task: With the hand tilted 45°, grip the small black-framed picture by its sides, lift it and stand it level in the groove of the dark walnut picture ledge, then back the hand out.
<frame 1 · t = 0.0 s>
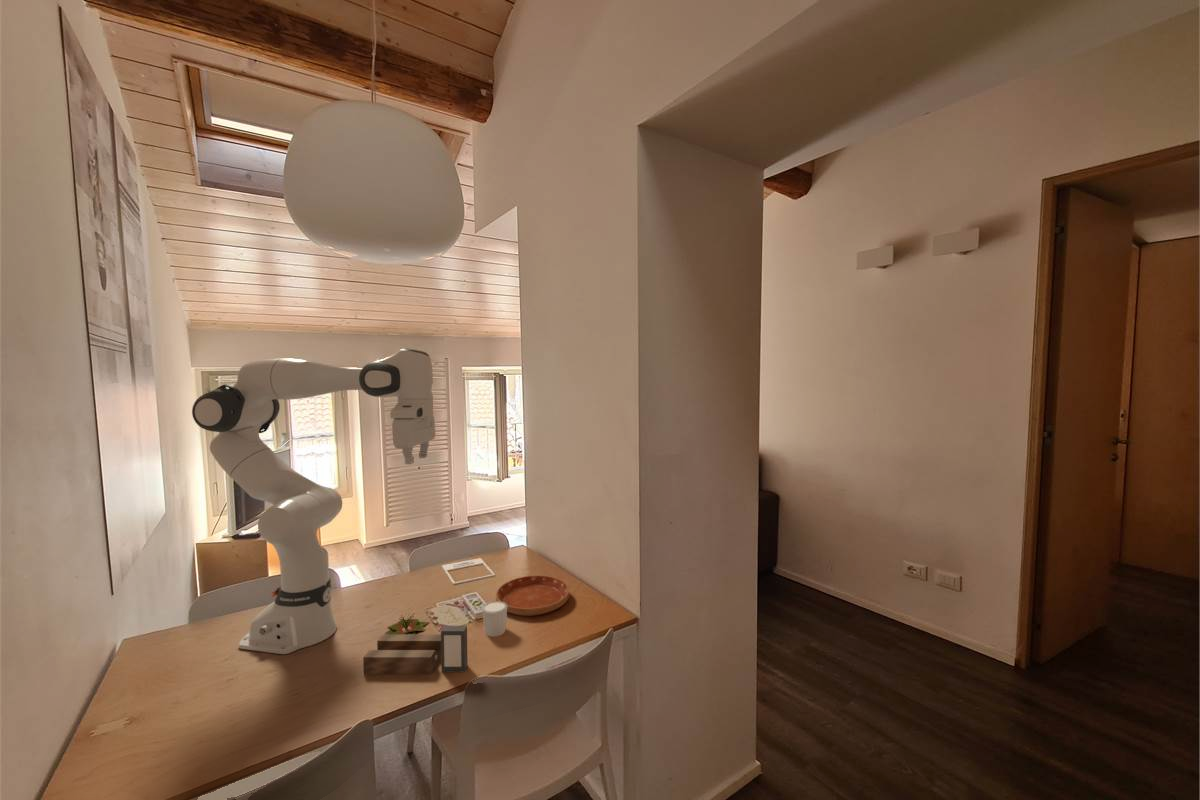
hand: (416, 460, 127), 48 cm above the table, tool pointing down, fingers open, 8 cm apart
small frame: (454, 668, 114), on the table
picture ledge: (405, 661, 117), on the table
photo frame: (467, 572, 172), on the table
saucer: (532, 602, 149), on the table
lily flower: (406, 631, 132), on the table
white cylinder: (495, 631, 131), on the table
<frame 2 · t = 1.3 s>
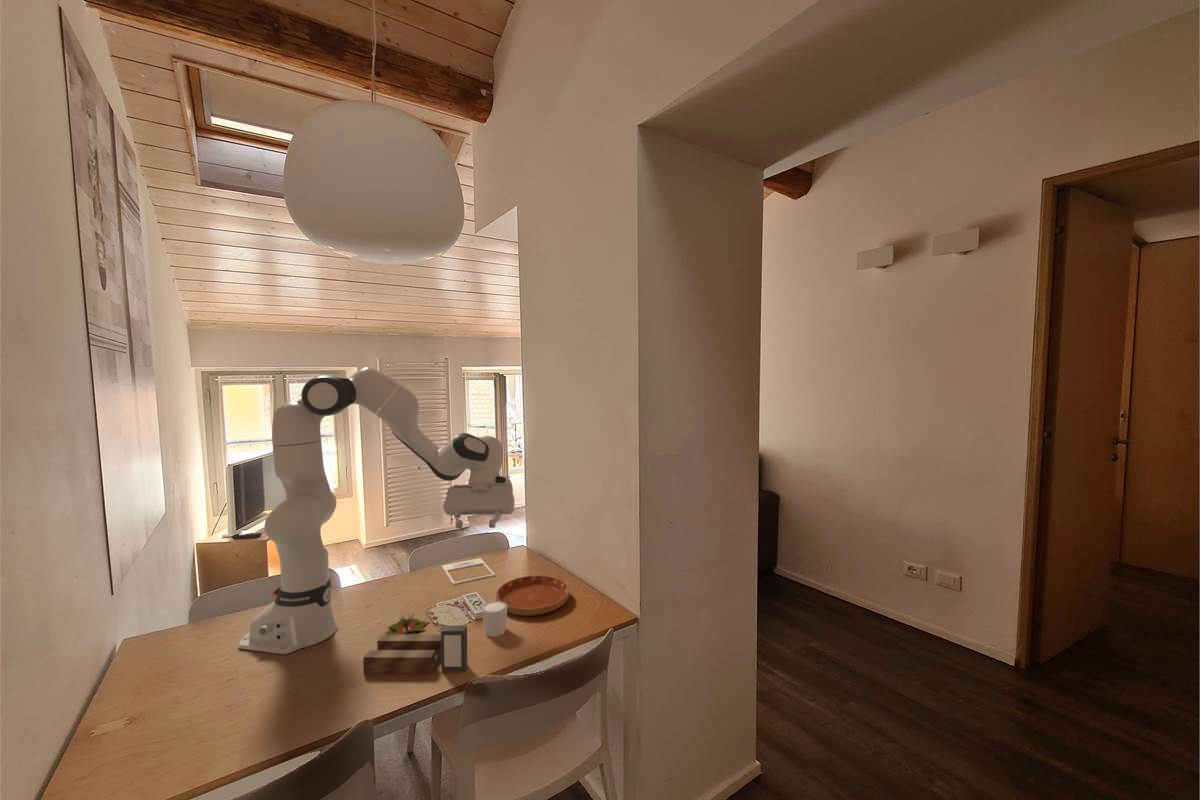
hand: (475, 527, 133), 28 cm above the table, tool tilted 45°, fingers open, 8 cm apart
nothing on the table moved.
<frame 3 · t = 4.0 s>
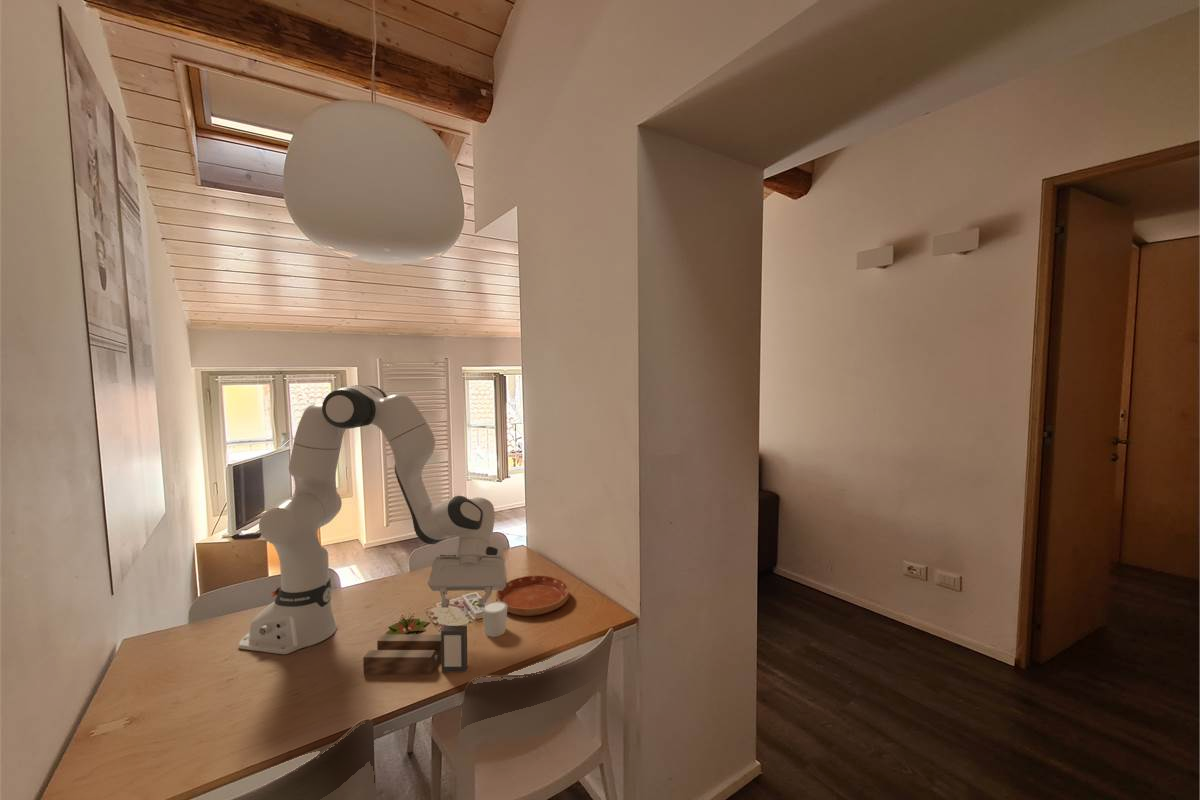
hand: (463, 606, 120), 12 cm above the table, tool tilted 45°, fingers open, 8 cm apart
nothing on the table moved.
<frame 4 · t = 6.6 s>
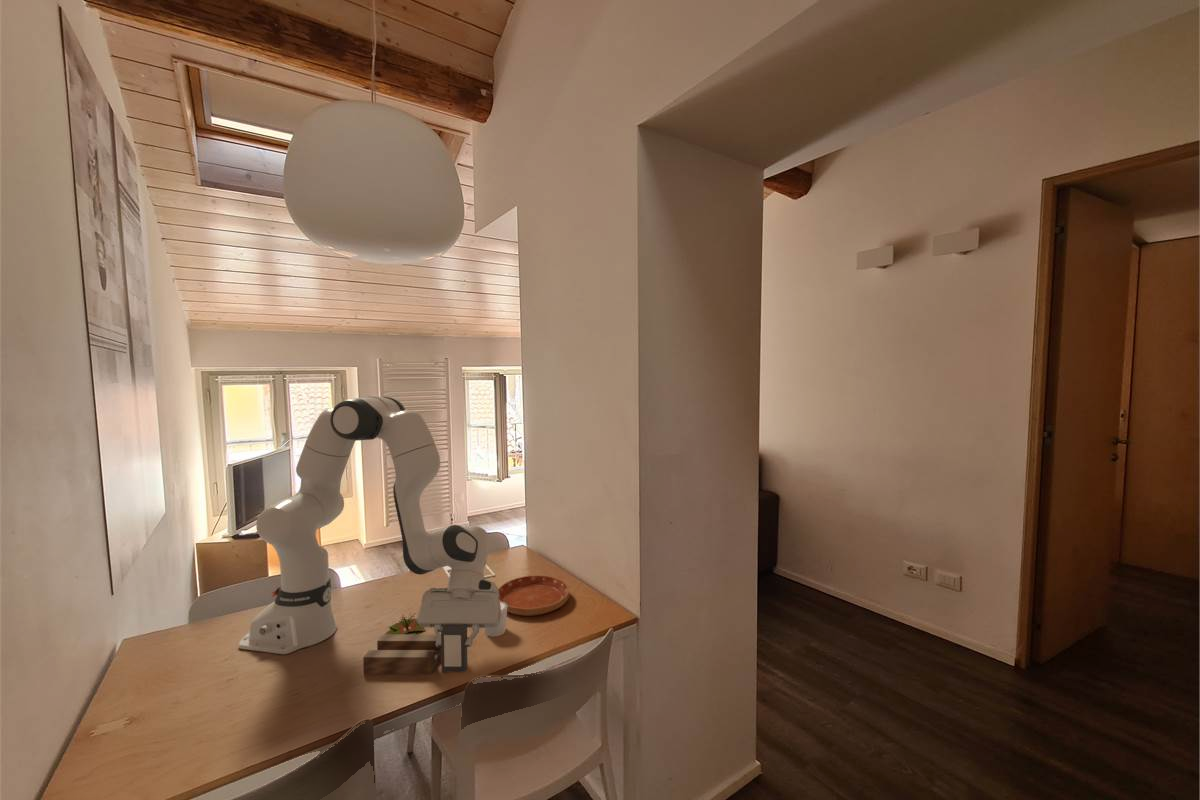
hand: (453, 646, 113), 6 cm above the table, tool tilted 45°, fingers closed on small frame, 5 cm apart
small frame: (454, 668, 114), on the table, touching gripper
everything else where it was.
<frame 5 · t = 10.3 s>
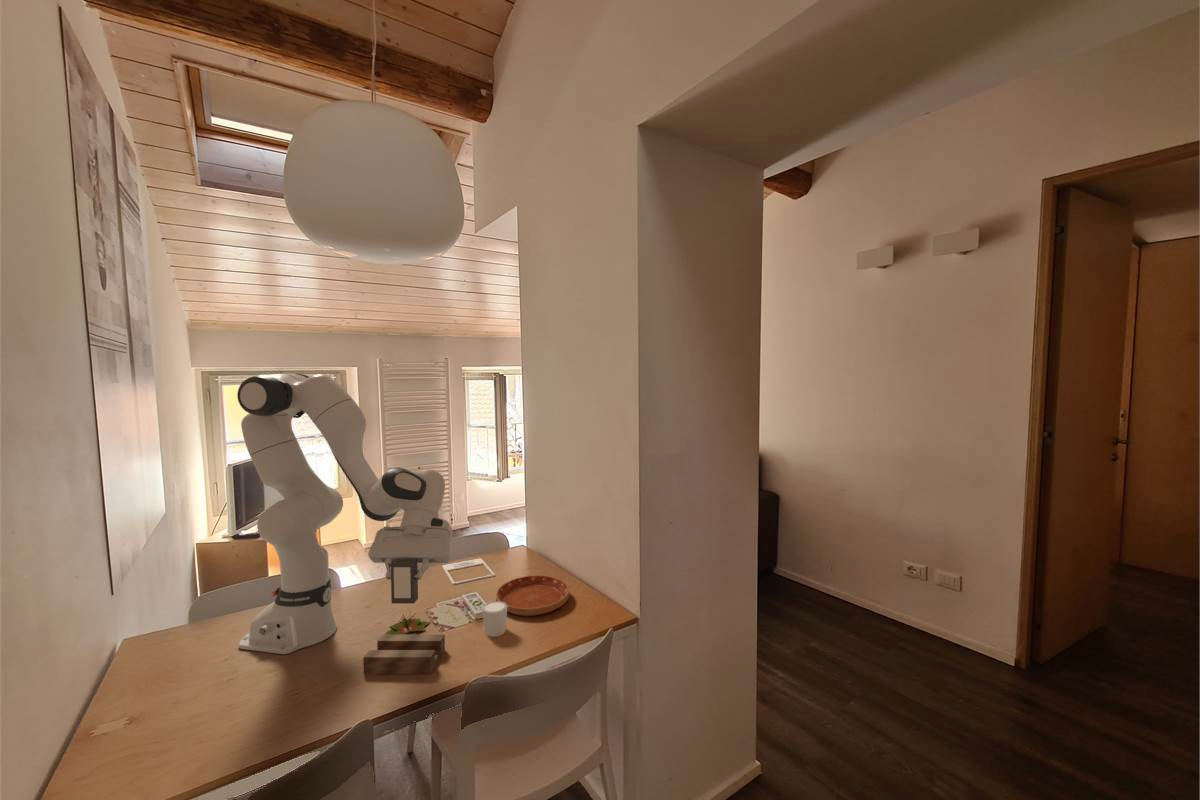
hand: (403, 578, 115), 21 cm above the table, tool tilted 45°, fingers closed on small frame, 5 cm apart
small frame: (404, 601, 116), point 15 cm above the table, touching gripper
everything else where it was.
when the fingers open (8 cm above the table, at t = 14.0 s): small frame stays where it is, resting on picture ledge.
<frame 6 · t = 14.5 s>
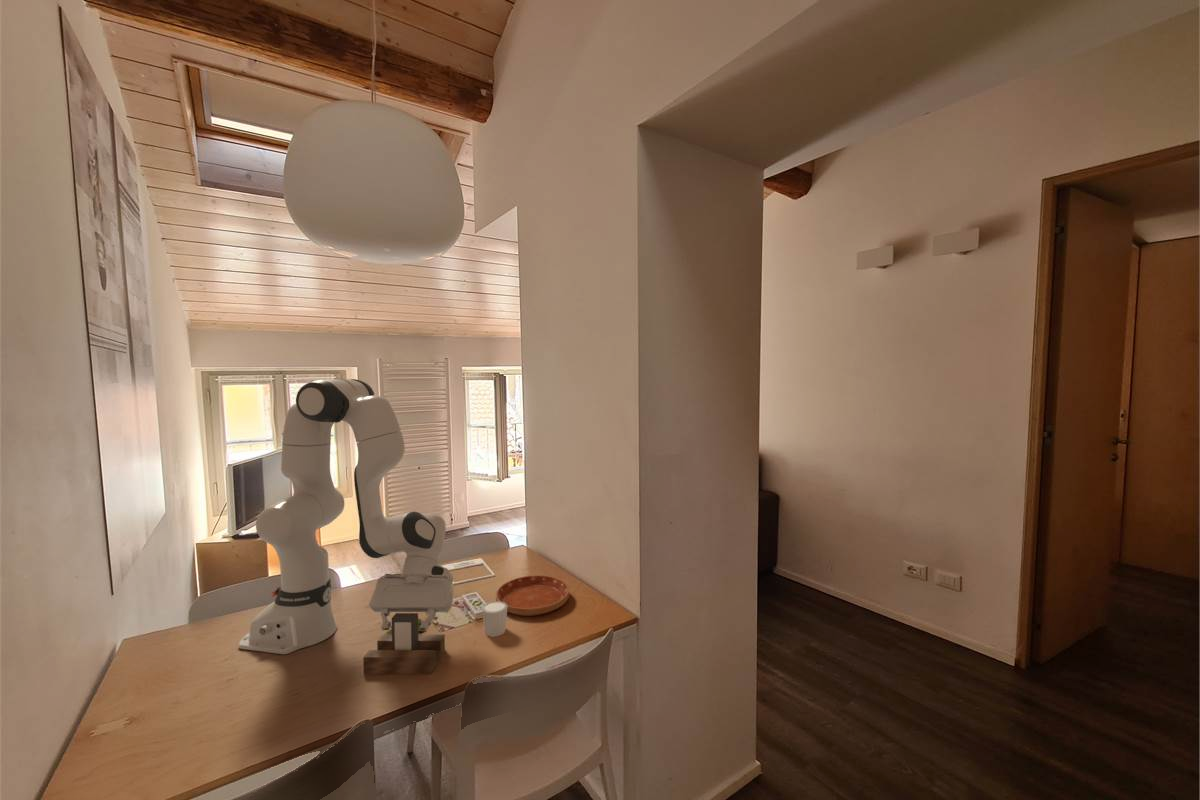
hand: (404, 629, 116), 8 cm above the table, tool tilted 45°, fingers open, 8 cm apart
small frame: (405, 655, 117), point 1 cm above the table, touching picture ledge
everything else where it was.
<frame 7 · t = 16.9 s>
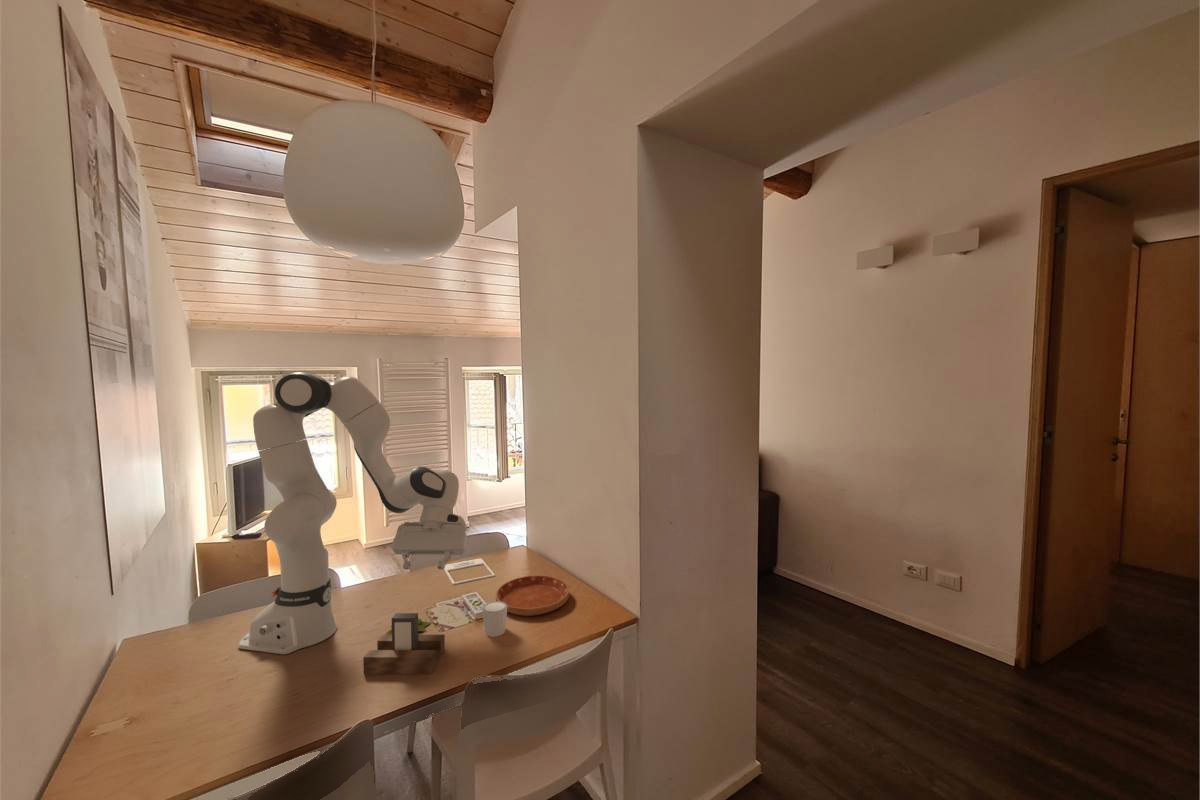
hand: (423, 568, 128), 18 cm above the table, tool tilted 45°, fingers open, 8 cm apart
nothing on the table moved.
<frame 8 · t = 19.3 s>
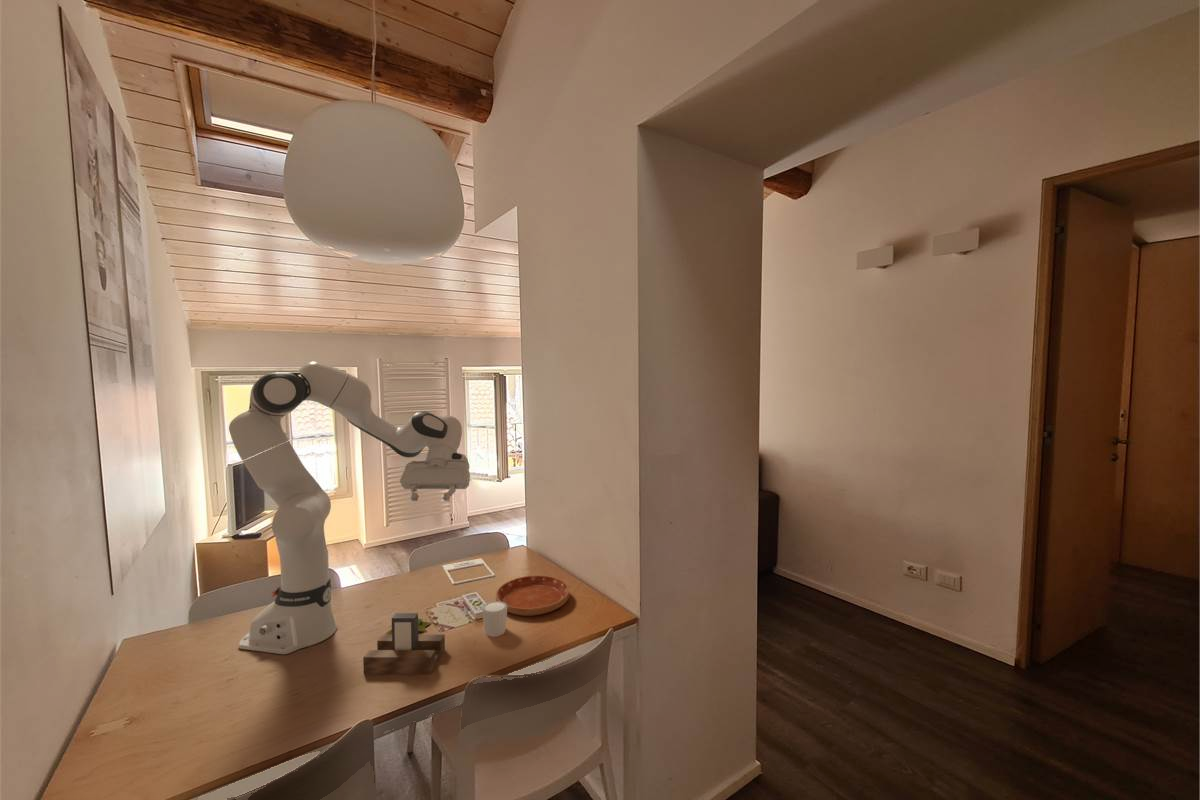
hand: (429, 500, 139), 34 cm above the table, tool tilted 45°, fingers open, 8 cm apart
nothing on the table moved.
at the end: small frame inside the target area on the picture ledge (0.1 cm from its centre), point 1.5 cm above the picture ledge's base; small frame tilted 0°; the gripper is holding nothing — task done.
